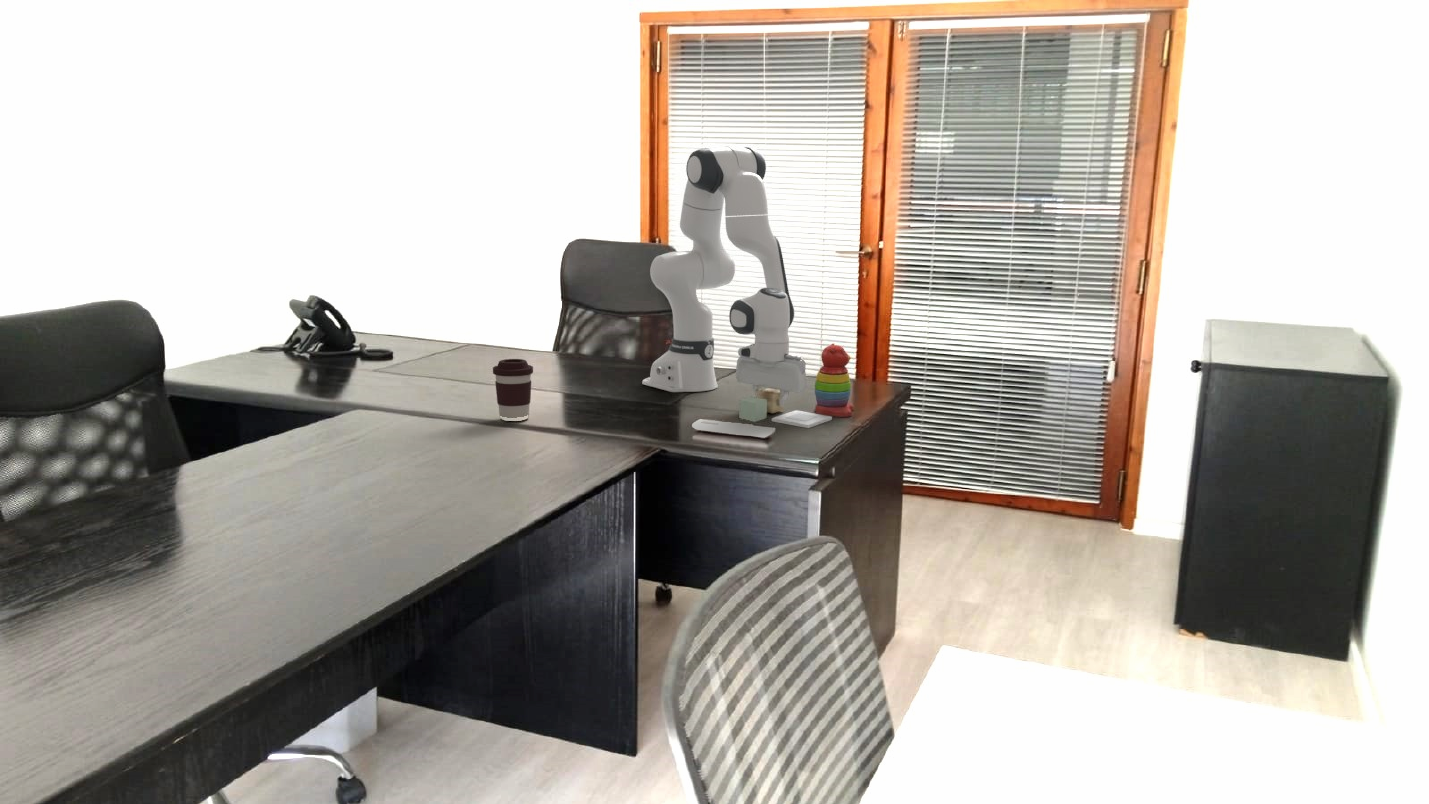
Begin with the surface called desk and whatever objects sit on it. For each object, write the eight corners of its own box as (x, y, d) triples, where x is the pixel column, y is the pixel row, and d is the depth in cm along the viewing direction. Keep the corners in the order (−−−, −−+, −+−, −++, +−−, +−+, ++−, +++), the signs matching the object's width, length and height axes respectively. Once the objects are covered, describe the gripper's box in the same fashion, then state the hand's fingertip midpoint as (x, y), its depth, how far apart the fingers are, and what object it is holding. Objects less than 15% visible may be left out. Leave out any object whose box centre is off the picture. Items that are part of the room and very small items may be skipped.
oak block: (756, 410, 288) (757, 391, 287) (767, 406, 292) (768, 388, 291) (772, 413, 285) (773, 394, 284) (783, 409, 289) (784, 391, 288)
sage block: (739, 419, 281) (739, 400, 280) (750, 415, 285) (751, 396, 284) (755, 422, 278) (755, 402, 277) (766, 418, 282) (766, 399, 281)
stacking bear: (851, 417, 283) (853, 349, 279) (811, 415, 285) (813, 347, 281) (854, 408, 293) (856, 342, 289) (816, 406, 295) (818, 340, 291)
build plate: (771, 421, 279) (771, 417, 279) (795, 413, 287) (796, 409, 287) (808, 428, 272) (808, 424, 272) (831, 419, 281) (832, 416, 281)
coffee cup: (542, 417, 281) (540, 359, 278) (517, 425, 273) (516, 365, 270) (511, 413, 286) (509, 356, 283) (486, 420, 277) (484, 361, 274)
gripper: (812, 355, 281) (810, 408, 284) (747, 345, 293) (746, 395, 296) (798, 359, 276) (796, 412, 279) (733, 348, 288) (732, 400, 291)
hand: (770, 403), depth 288 cm, fingers closed on oak block, 5 cm apart
